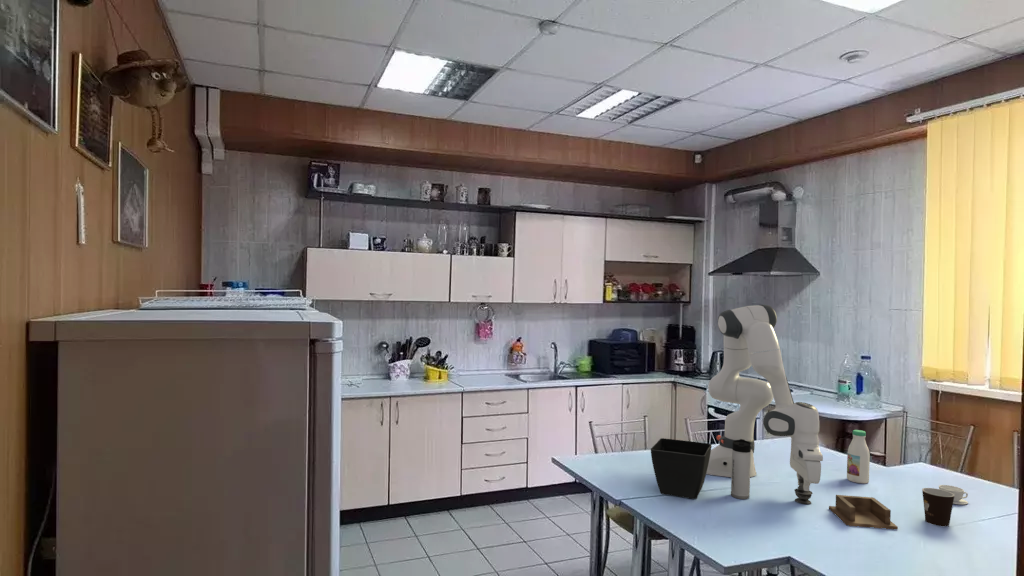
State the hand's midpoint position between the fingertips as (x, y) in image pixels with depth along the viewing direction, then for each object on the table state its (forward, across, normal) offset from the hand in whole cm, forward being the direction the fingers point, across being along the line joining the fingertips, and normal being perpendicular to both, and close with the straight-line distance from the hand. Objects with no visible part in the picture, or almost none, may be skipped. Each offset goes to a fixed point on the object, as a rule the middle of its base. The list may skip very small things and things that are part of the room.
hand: (803, 488), depth 213 cm
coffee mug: (+5, +10, +39) cm, 40 cm away
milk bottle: (+5, -31, +31) cm, 44 cm away
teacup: (+6, -14, +56) cm, 58 cm away
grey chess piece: (+5, 0, 0) cm, 5 cm away
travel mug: (+5, -1, -21) cm, 22 cm away
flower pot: (+5, -1, -42) cm, 43 cm away
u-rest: (+5, +13, +14) cm, 20 cm away
